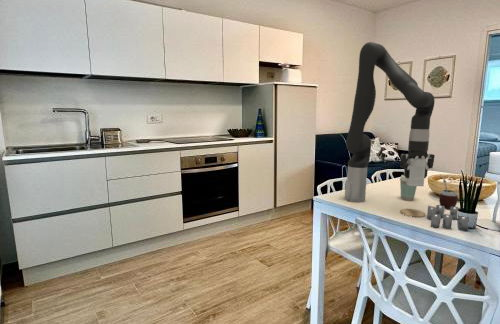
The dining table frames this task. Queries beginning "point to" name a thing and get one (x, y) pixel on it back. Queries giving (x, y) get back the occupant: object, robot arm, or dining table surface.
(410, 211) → the coaster
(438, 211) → the spacer field
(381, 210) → the dining table surface
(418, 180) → the skincare box
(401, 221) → the dining table surface
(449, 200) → the mate gourd
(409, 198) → the coffee cup
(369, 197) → the dining table surface
